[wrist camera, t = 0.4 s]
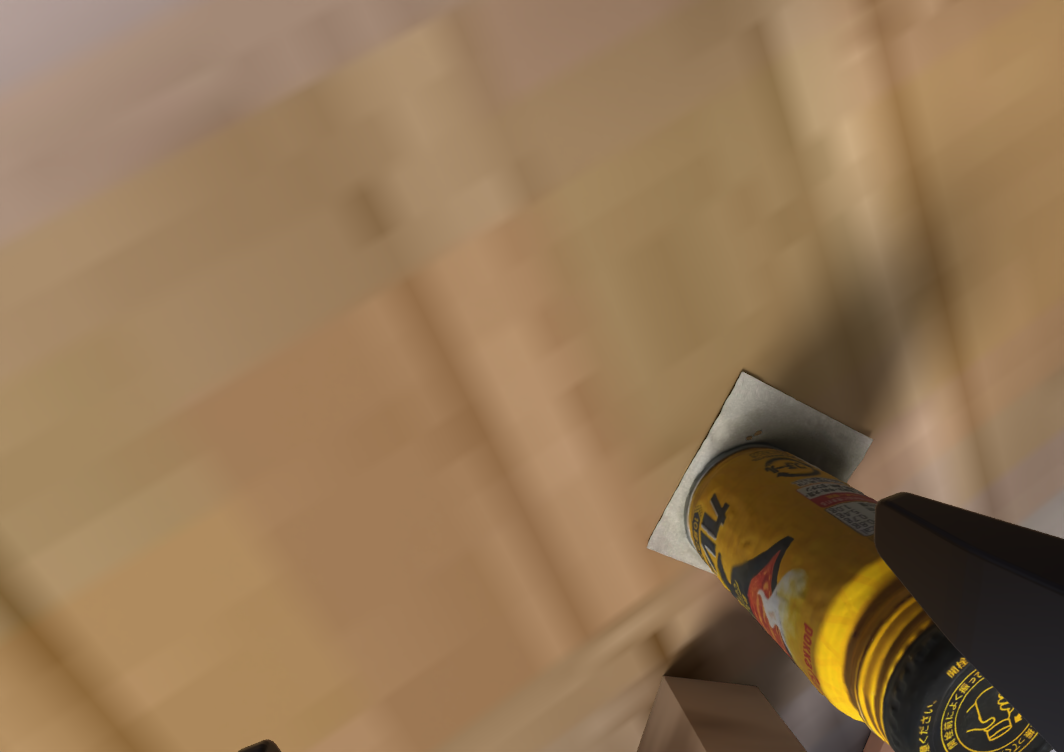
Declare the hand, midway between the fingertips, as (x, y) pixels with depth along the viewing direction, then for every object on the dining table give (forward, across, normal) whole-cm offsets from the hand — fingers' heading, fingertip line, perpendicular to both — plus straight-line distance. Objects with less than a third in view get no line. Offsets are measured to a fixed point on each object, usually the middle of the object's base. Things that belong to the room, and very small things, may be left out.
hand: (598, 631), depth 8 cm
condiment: (+13, -10, +11) cm, 20 cm away
